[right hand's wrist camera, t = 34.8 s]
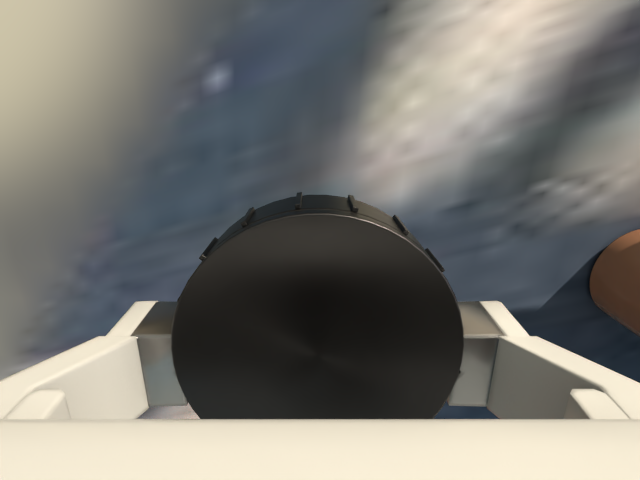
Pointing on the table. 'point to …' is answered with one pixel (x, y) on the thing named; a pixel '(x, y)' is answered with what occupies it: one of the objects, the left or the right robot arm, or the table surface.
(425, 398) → the lid
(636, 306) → the brown cylinder
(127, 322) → the right robot arm
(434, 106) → the table surface
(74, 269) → the table surface
